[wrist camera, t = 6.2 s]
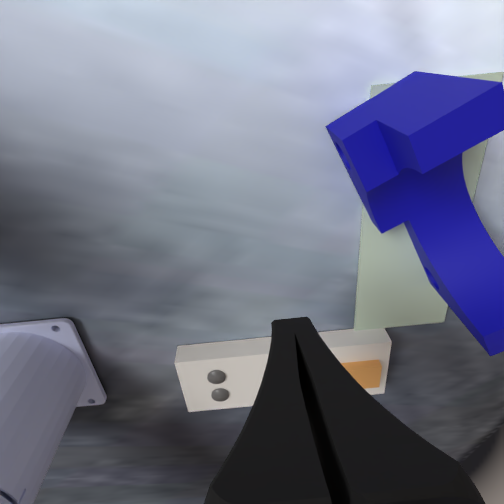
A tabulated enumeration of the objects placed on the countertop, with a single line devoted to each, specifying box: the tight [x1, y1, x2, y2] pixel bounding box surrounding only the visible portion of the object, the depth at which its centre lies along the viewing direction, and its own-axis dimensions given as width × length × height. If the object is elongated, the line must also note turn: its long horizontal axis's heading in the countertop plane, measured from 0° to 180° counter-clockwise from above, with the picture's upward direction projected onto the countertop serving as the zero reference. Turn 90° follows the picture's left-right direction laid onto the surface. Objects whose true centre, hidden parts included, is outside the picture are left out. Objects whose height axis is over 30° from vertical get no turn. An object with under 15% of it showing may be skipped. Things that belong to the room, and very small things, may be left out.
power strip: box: [174, 328, 392, 412], centre depth 24 cm, size 14×5×2 cm, turn 95°
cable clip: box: [326, 71, 504, 356], centre depth 17 cm, size 12×4×6 cm, turn 32°
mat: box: [354, 72, 504, 331], centre depth 20 cm, size 6×15×1 cm, turn 5°
